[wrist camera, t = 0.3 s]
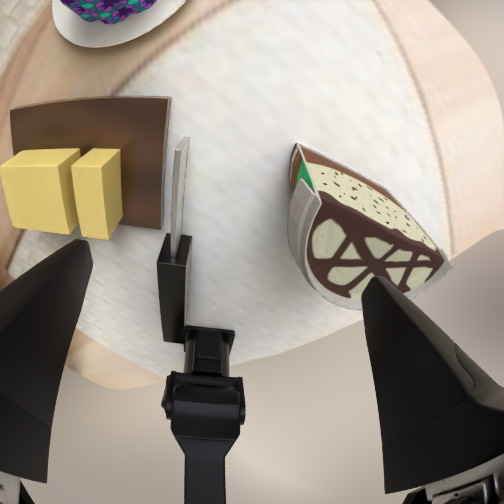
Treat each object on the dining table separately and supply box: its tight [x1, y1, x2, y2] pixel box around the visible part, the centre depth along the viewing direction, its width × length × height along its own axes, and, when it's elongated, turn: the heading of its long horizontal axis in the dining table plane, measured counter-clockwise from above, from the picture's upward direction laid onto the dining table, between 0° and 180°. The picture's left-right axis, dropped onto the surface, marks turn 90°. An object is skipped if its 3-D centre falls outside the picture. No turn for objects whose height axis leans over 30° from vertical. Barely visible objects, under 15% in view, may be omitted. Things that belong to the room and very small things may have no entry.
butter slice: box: [71, 148, 123, 240], centre depth 18 cm, size 6×2×4 cm, turn 169°
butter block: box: [0, 148, 81, 235], centre depth 17 cm, size 6×7×4 cm
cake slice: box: [287, 143, 453, 311], centre depth 18 cm, size 12×6×10 cm, turn 67°
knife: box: [157, 137, 192, 344], centre depth 23 cm, size 21×2×4 cm, turn 169°
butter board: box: [10, 96, 171, 229], centre depth 18 cm, size 11×16×1 cm
